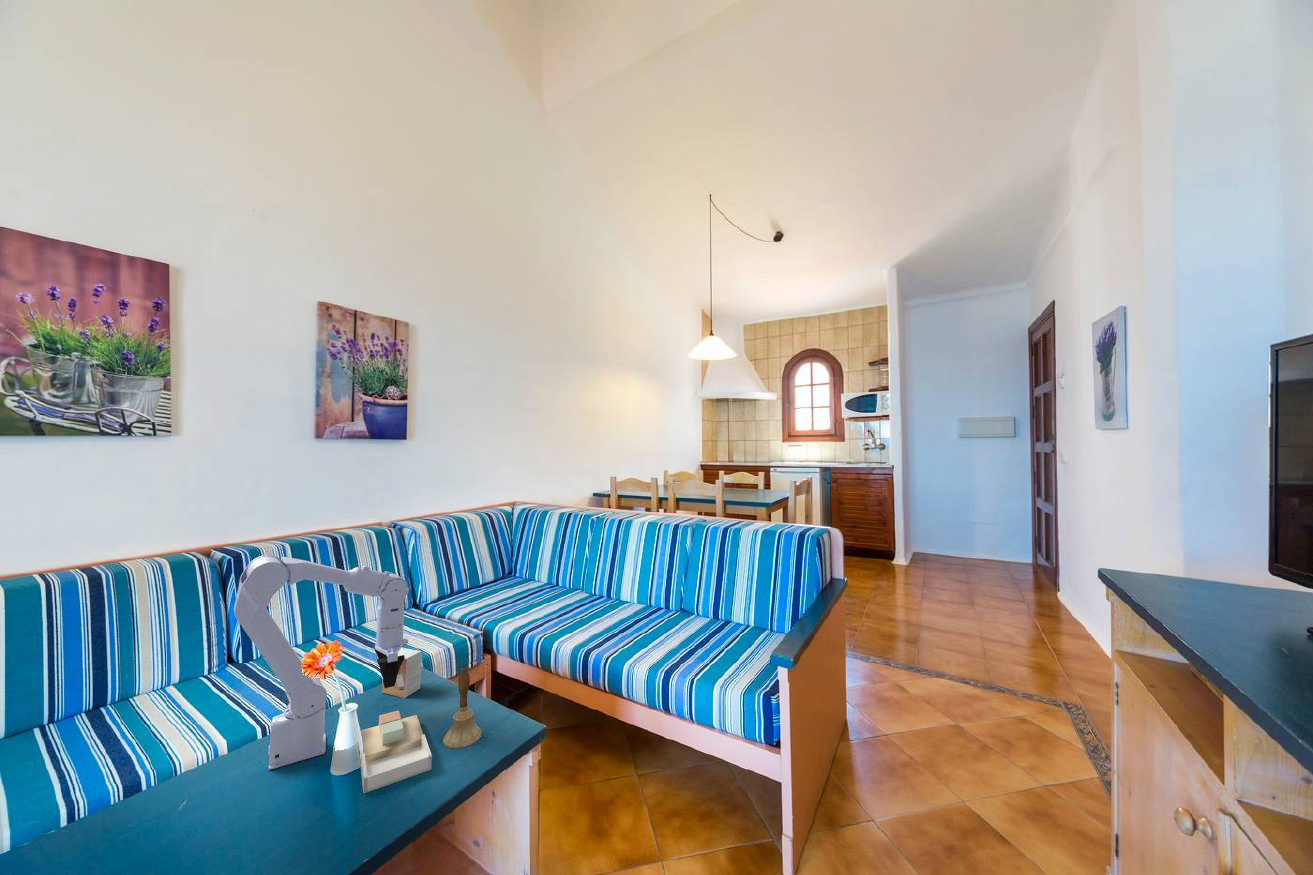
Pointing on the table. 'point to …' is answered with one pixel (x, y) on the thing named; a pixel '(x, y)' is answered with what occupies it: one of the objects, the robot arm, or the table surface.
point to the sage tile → (391, 732)
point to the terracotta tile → (388, 718)
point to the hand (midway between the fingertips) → (387, 680)
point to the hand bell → (463, 719)
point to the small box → (407, 674)
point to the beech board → (410, 741)
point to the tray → (395, 767)
